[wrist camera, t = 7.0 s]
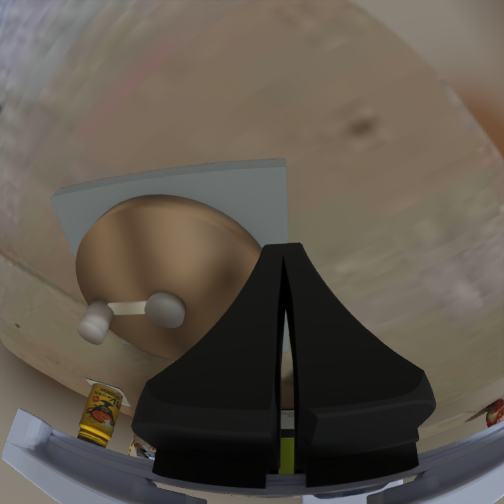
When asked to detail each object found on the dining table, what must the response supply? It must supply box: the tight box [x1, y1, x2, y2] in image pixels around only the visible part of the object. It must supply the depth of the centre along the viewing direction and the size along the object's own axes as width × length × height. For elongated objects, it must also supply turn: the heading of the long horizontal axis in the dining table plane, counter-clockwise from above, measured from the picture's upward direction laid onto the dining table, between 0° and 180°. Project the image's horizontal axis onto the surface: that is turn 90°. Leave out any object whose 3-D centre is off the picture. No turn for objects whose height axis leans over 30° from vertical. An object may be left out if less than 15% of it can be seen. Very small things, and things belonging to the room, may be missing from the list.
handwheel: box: [76, 194, 262, 361], centre depth 20 cm, size 16×16×5 cm
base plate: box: [50, 159, 289, 352], centre depth 23 cm, size 18×18×2 cm
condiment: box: [77, 378, 131, 448], centre depth 38 cm, size 7×8×12 cm
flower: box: [485, 399, 504, 427], centre depth 46 cm, size 10×9×8 cm
